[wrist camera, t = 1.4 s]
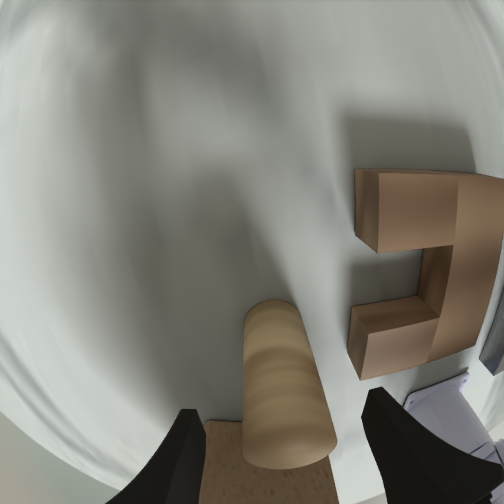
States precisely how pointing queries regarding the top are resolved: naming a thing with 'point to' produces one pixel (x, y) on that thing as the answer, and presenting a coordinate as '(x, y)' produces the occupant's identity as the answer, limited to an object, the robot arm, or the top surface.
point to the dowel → (282, 391)
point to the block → (427, 264)
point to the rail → (495, 343)
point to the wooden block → (257, 474)
